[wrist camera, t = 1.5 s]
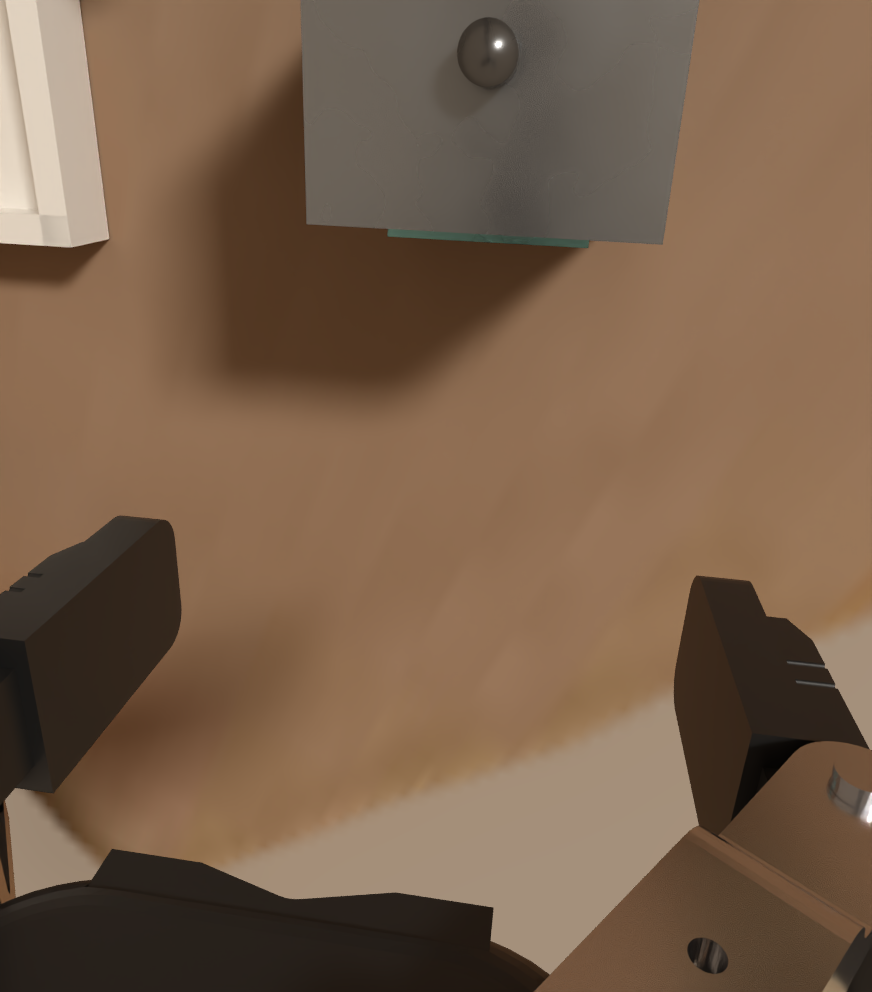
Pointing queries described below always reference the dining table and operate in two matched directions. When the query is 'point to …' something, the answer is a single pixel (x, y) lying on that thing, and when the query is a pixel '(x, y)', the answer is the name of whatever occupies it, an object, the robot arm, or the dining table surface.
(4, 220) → the tray
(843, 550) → the dining table surface
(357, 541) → the dining table surface
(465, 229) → the box
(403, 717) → the dining table surface
